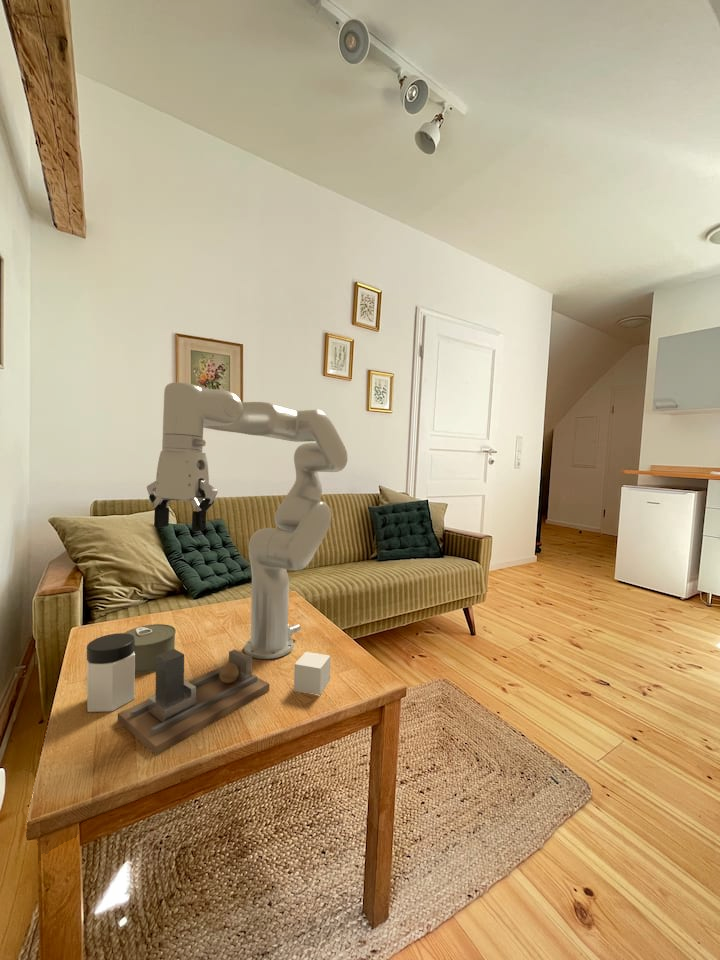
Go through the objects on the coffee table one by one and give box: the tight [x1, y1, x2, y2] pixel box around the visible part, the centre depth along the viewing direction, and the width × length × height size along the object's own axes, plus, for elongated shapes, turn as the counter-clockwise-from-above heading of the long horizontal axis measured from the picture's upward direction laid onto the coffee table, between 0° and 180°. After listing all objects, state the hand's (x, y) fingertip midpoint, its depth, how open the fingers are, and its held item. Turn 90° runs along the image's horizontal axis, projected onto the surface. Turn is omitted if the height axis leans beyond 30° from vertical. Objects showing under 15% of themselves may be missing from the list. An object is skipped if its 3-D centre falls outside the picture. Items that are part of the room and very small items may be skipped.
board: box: [117, 649, 270, 756], centre depth 78 cm, size 24×14×6 cm, turn 144°
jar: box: [86, 632, 136, 713], centre depth 79 cm, size 9×8×12 cm
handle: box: [147, 648, 196, 722], centre depth 73 cm, size 6×6×10 cm
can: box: [124, 623, 177, 676], centre depth 94 cm, size 12×12×7 cm
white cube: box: [293, 651, 332, 695], centre depth 86 cm, size 6×6×6 cm
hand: (179, 528), depth 80 cm, fingers open, 9 cm apart
